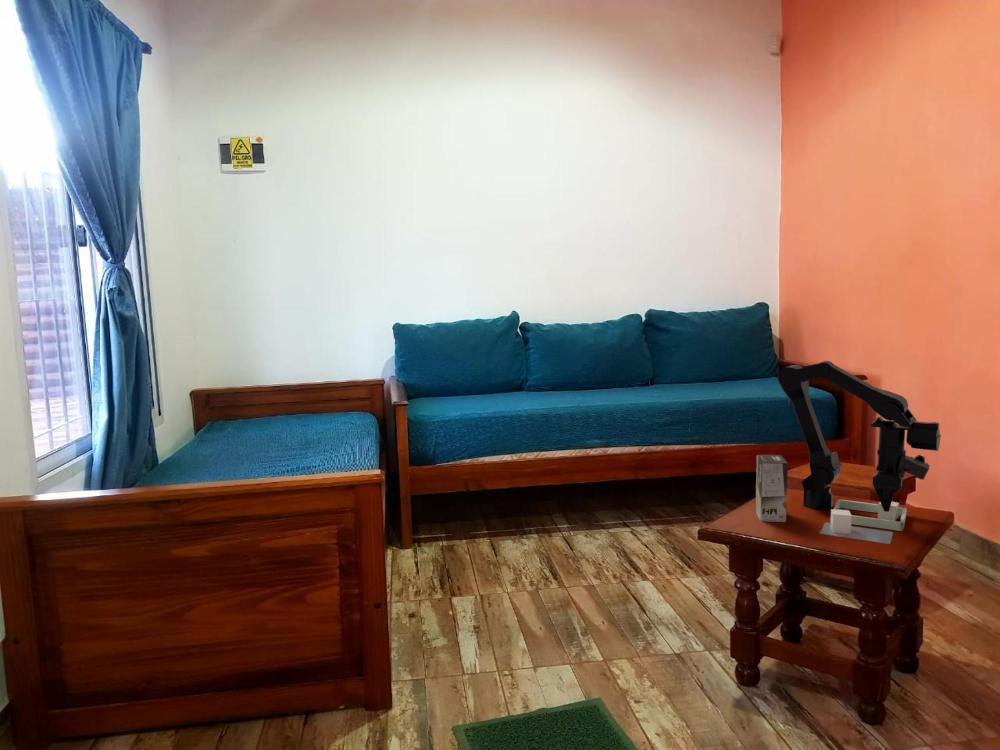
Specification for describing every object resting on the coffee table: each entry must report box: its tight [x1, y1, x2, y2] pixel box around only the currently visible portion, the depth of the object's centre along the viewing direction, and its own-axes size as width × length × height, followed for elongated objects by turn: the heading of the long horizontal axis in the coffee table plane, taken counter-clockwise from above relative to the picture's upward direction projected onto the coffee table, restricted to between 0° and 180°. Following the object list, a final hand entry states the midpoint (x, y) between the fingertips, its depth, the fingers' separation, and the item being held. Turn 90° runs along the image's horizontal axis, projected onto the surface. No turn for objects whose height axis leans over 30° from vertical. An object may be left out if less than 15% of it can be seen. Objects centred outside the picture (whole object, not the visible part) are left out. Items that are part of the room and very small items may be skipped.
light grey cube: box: [877, 501, 900, 521], centre depth 190 cm, size 4×4×4 cm
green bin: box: [833, 498, 908, 532], centre depth 191 cm, size 16×13×3 cm
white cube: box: [829, 508, 853, 534], centre depth 182 cm, size 4×4×4 cm
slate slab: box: [819, 521, 894, 545], centre depth 180 cm, size 15×9×1 cm, turn 59°
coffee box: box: [755, 454, 789, 523], centre depth 193 cm, size 9×6×16 cm
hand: (887, 506), depth 190 cm, fingers open, 9 cm apart
